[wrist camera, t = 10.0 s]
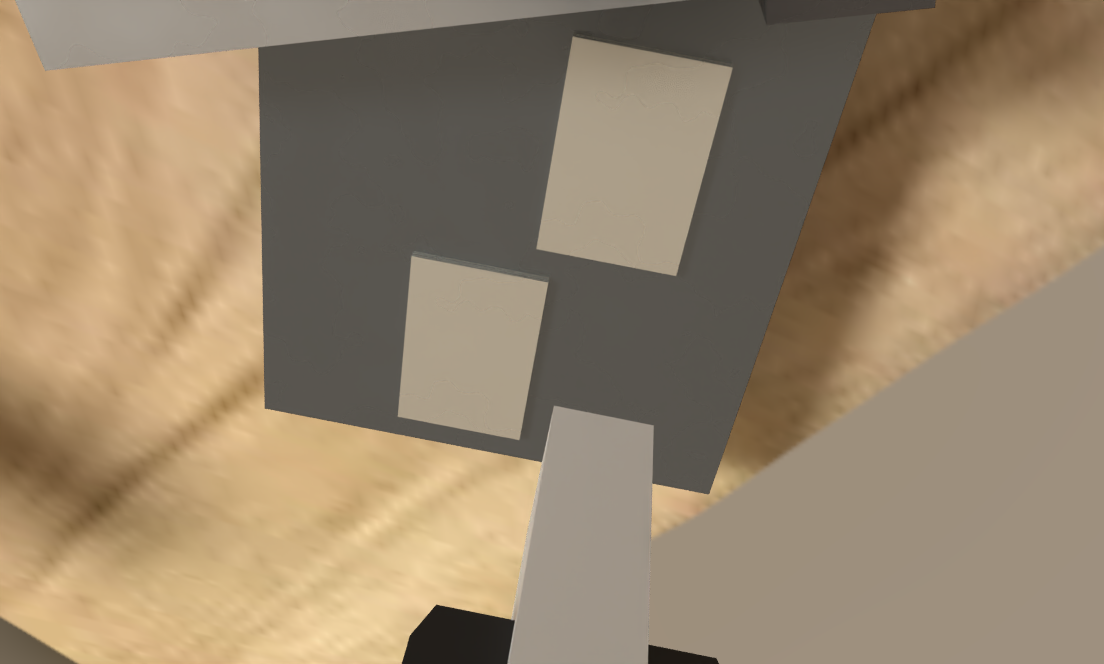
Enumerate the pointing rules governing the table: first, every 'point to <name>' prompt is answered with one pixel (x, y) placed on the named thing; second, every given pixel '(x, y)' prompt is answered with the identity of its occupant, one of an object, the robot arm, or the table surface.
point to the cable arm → (312, 21)
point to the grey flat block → (541, 219)
